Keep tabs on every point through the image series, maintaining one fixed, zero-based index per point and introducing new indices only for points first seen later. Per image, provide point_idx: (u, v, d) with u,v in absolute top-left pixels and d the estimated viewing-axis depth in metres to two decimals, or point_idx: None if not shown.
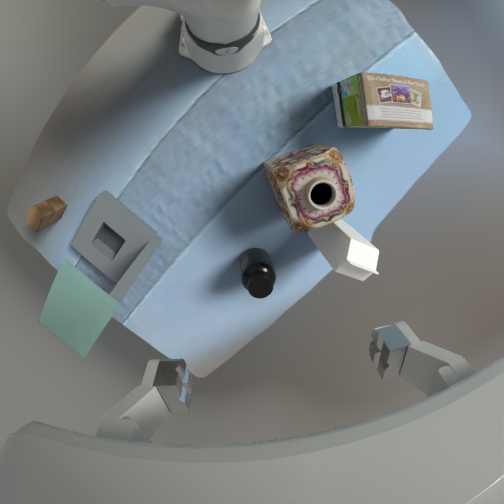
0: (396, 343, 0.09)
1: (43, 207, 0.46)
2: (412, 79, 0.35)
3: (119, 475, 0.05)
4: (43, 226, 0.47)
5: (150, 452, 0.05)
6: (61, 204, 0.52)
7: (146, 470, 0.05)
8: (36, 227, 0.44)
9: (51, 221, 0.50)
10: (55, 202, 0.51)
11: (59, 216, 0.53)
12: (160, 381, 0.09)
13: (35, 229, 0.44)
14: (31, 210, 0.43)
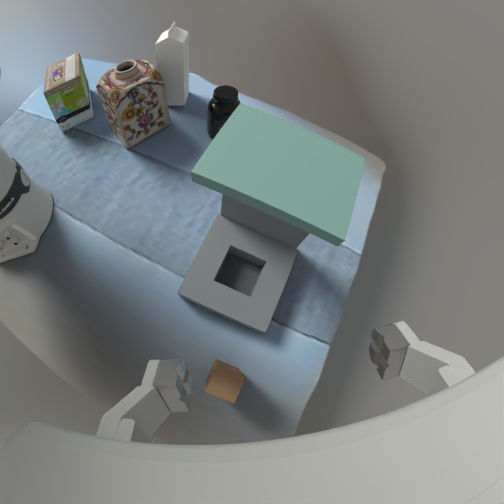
0: (396, 343, 0.09)
1: (210, 378, 0.35)
2: (46, 72, 0.41)
3: (119, 475, 0.05)
4: (239, 372, 0.35)
5: (150, 452, 0.05)
6: (213, 365, 0.41)
7: (146, 470, 0.05)
8: (236, 375, 0.33)
9: (236, 369, 0.39)
10: (210, 373, 0.40)
11: (232, 367, 0.42)
12: (160, 381, 0.09)
13: (240, 378, 0.33)
14: (210, 389, 0.32)
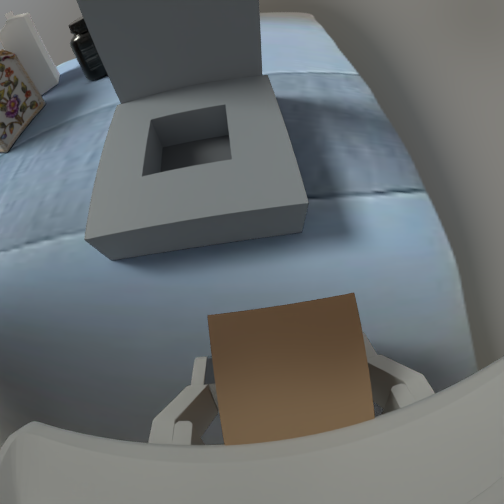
0: None
1: None
2: None
3: (119, 475, 0.05)
4: None
5: (150, 452, 0.05)
6: None
7: (146, 470, 0.05)
8: (313, 312, 0.07)
9: None
10: None
11: None
12: (211, 378, 0.09)
13: (335, 310, 0.07)
14: (238, 435, 0.06)
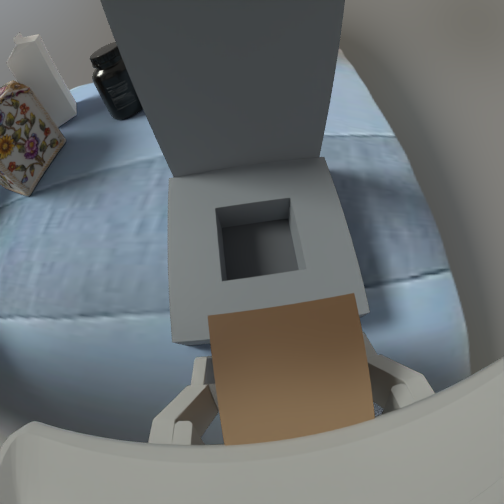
0: None
1: None
2: None
3: (119, 475, 0.05)
4: None
5: (150, 452, 0.05)
6: None
7: (146, 470, 0.05)
8: (313, 312, 0.07)
9: None
10: None
11: None
12: (211, 378, 0.09)
13: (335, 310, 0.07)
14: (238, 435, 0.06)
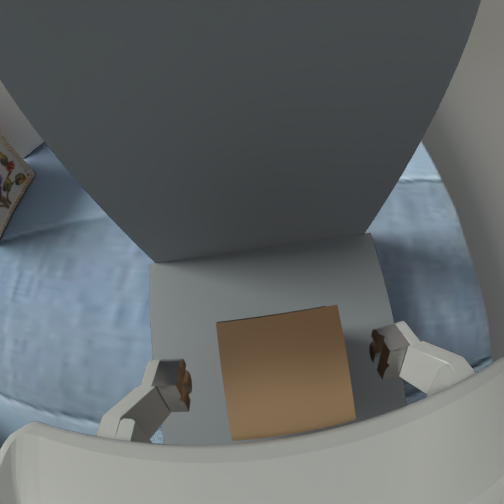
0: (396, 343, 0.09)
1: None
2: None
3: (119, 475, 0.05)
4: None
5: (150, 452, 0.05)
6: None
7: (146, 470, 0.05)
8: (302, 320, 0.09)
9: None
10: None
11: None
12: (160, 381, 0.09)
13: (321, 318, 0.09)
14: (241, 421, 0.07)
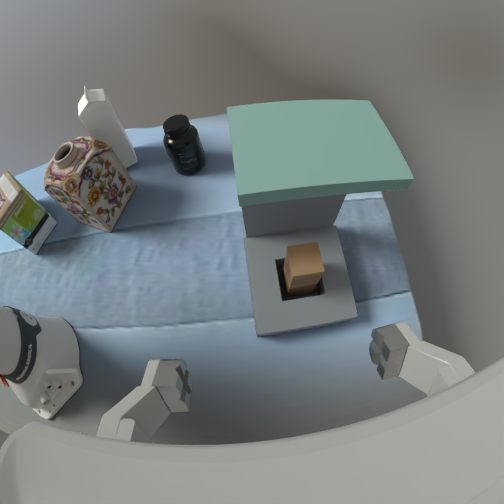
0: (396, 343, 0.09)
1: (288, 272, 0.37)
2: None
3: (119, 475, 0.05)
4: None
5: (150, 452, 0.05)
6: (284, 276, 0.43)
7: (146, 470, 0.05)
8: (309, 245, 0.34)
9: None
10: (285, 281, 0.41)
11: None
12: (160, 381, 0.09)
13: (313, 245, 0.34)
14: (295, 270, 0.33)
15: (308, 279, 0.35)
